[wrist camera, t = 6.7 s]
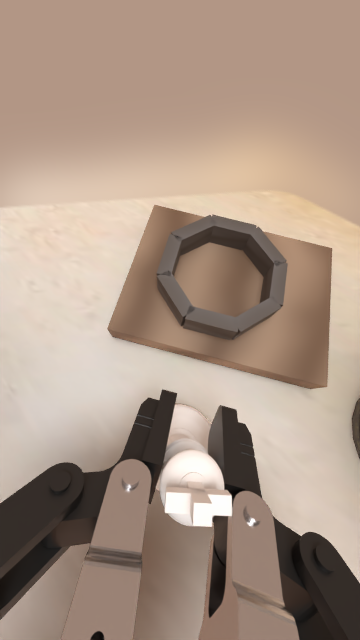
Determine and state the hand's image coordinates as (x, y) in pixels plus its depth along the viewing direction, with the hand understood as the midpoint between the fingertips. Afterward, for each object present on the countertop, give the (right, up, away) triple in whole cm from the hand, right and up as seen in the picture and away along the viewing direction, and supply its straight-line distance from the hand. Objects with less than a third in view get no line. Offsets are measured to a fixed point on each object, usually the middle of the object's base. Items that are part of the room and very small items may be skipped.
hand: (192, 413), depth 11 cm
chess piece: (-1, -3, +4) cm, 5 cm away
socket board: (+3, +7, +10) cm, 12 cm away
